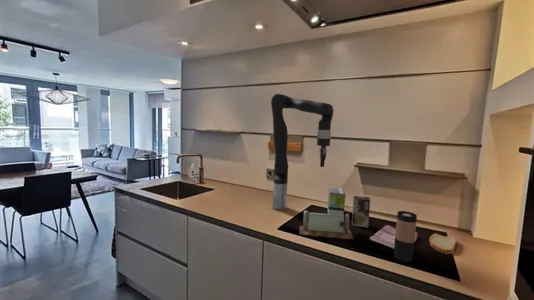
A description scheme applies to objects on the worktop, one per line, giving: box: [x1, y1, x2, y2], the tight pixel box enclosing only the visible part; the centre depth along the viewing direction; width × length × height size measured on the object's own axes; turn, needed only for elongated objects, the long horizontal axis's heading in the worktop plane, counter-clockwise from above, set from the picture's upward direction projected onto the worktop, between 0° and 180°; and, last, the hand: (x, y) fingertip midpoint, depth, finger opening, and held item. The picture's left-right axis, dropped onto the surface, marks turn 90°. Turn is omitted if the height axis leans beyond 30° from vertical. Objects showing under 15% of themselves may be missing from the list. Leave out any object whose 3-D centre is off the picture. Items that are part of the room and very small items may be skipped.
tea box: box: [327, 186, 346, 216], centre depth 172 cm, size 15×10×15 cm
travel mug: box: [393, 210, 418, 263], centre depth 114 cm, size 8×8×20 cm
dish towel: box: [369, 224, 419, 250], centre depth 134 cm, size 17×23×4 cm
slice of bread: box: [428, 233, 458, 255], centre depth 129 cm, size 18×18×4 cm
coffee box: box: [351, 195, 371, 228], centre depth 151 cm, size 9×6×16 cm
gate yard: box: [298, 210, 355, 240], centre depth 138 cm, size 27×10×11 cm, turn 84°
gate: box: [308, 212, 345, 233], centre depth 138 cm, size 18×2×9 cm, turn 84°
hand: (322, 166), depth 156 cm, fingers closed
